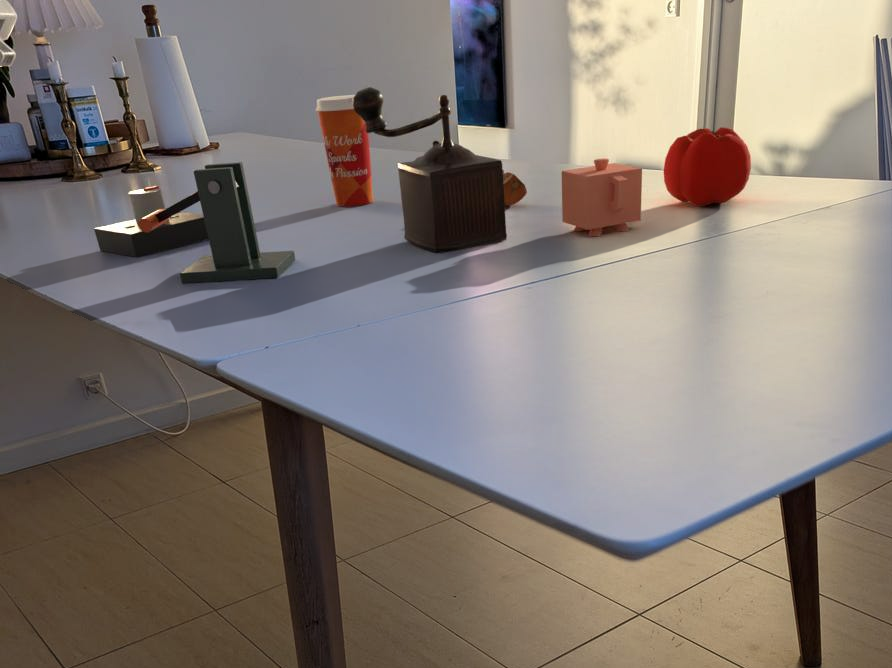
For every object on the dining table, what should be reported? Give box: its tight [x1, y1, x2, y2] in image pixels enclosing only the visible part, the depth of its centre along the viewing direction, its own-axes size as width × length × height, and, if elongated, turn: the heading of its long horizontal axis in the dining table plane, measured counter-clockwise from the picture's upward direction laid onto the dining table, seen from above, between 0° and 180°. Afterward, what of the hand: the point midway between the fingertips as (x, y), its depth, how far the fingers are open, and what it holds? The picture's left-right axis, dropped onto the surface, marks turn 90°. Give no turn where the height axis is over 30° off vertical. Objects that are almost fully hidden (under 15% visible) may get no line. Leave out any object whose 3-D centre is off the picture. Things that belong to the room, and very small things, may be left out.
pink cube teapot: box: [561, 157, 643, 237], centre depth 117 cm, size 8×12×8 cm, turn 23°
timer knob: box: [128, 185, 166, 224], centre depth 129 cm, size 4×4×4 cm
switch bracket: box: [179, 161, 296, 284], centre depth 111 cm, size 12×9×12 cm
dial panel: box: [93, 211, 209, 258], centre depth 132 cm, size 13×10×3 cm
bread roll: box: [503, 169, 528, 207], centre depth 136 cm, size 8×7×5 cm
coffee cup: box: [315, 94, 374, 208], centre depth 145 cm, size 8×8×15 cm
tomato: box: [663, 126, 752, 207], centre depth 126 cm, size 11×12×9 cm
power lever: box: [139, 167, 239, 232], centre depth 110 cm, size 12×6×2 cm, turn 85°
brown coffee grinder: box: [353, 86, 508, 254], centre depth 114 cm, size 16×11×18 cm
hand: (7, 61), depth 102 cm, fingers closed
